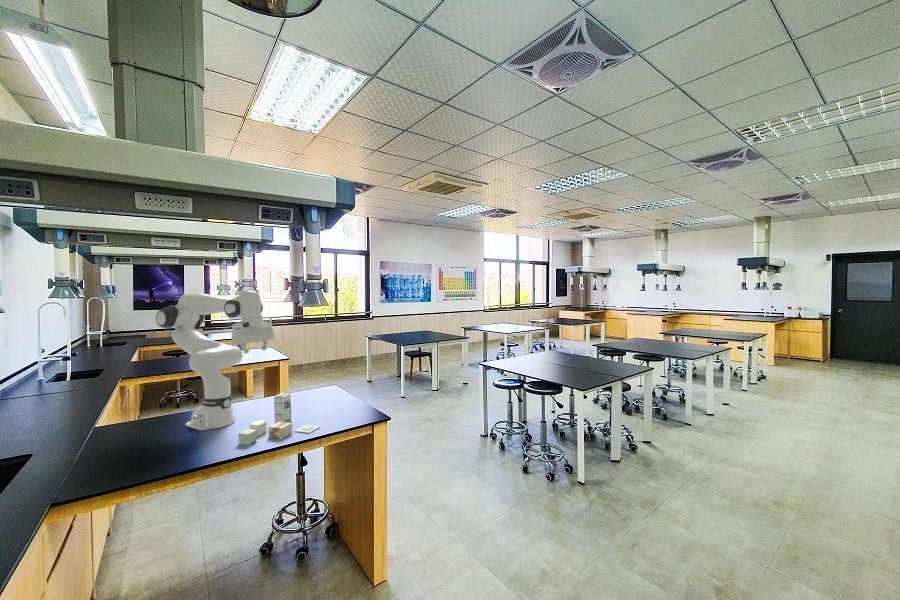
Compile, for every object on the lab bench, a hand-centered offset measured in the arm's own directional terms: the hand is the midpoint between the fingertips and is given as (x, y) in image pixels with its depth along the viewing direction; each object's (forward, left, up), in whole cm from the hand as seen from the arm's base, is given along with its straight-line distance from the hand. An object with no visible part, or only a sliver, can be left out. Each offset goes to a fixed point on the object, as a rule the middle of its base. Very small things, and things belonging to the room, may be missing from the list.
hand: (255, 351), depth 175 cm
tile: (+24, +7, -38) cm, 46 cm away
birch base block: (+16, -2, -39) cm, 42 cm away
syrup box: (+5, +12, -39) cm, 41 cm away
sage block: (+8, -13, -38) cm, 41 cm away
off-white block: (+4, -3, -38) cm, 39 cm away
